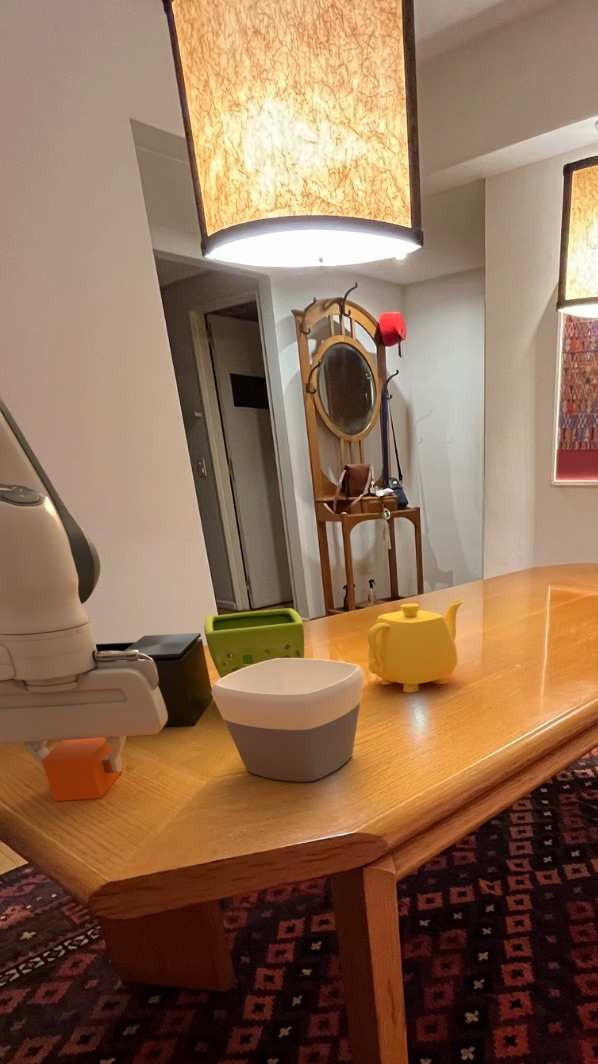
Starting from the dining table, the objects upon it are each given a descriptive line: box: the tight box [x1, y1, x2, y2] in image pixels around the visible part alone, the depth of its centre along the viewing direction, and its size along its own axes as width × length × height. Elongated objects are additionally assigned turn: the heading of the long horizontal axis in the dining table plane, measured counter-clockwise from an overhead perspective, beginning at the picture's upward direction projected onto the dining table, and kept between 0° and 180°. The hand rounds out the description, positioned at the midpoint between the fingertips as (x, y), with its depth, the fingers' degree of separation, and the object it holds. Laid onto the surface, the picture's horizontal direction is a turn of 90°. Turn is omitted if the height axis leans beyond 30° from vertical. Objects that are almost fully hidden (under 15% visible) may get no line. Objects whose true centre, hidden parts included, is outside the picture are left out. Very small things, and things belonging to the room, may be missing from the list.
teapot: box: [367, 599, 464, 693], centre depth 111 cm, size 14×20×13 cm
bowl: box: [211, 657, 365, 783], centre depth 80 cm, size 15×15×11 cm
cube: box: [42, 737, 122, 802], centre depth 77 cm, size 7×5×5 cm
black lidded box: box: [95, 632, 214, 728], centre depth 99 cm, size 17×13×10 cm
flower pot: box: [203, 607, 305, 679], centre depth 103 cm, size 14×14×13 cm
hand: (85, 773), depth 77 cm, fingers closed on cube, 5 cm apart
